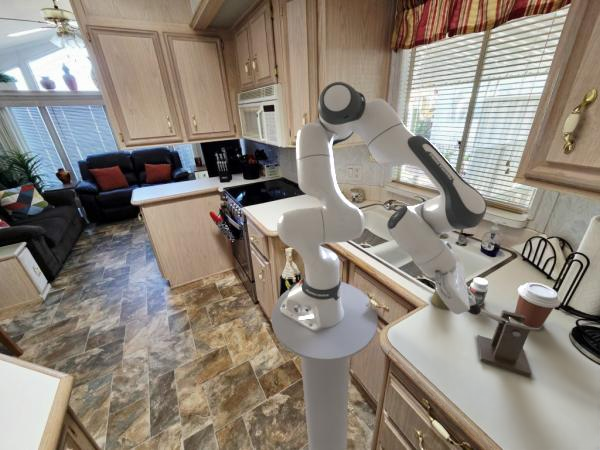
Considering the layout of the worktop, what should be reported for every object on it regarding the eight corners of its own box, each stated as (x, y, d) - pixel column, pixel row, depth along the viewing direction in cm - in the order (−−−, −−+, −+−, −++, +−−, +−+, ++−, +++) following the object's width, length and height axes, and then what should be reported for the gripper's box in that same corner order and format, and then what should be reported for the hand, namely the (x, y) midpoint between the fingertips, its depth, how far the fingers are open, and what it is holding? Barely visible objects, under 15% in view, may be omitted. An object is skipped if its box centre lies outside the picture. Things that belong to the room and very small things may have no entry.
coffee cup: (547, 338, 69) (563, 305, 64) (506, 322, 75) (518, 291, 70) (548, 319, 75) (563, 288, 70) (510, 306, 81) (521, 275, 76)
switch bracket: (480, 361, 64) (493, 325, 59) (476, 338, 71) (488, 303, 66) (530, 376, 60) (548, 339, 55) (521, 350, 66) (537, 314, 61)
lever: (464, 313, 64) (470, 305, 62) (463, 305, 66) (469, 297, 65) (517, 336, 60) (526, 328, 58) (514, 327, 62) (522, 319, 61)
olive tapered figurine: (454, 301, 84) (460, 275, 80) (447, 311, 80) (454, 284, 76) (435, 293, 88) (440, 268, 84) (428, 302, 84) (433, 276, 80)
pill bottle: (464, 301, 84) (470, 281, 81) (468, 294, 87) (474, 274, 84) (481, 308, 81) (487, 287, 77) (484, 300, 84) (491, 280, 80)
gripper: (449, 279, 54) (492, 327, 53) (447, 238, 70) (479, 275, 70) (423, 290, 57) (463, 335, 57) (427, 249, 74) (458, 283, 74)
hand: (472, 301), depth 64 cm, fingers closed, pressing on lever
